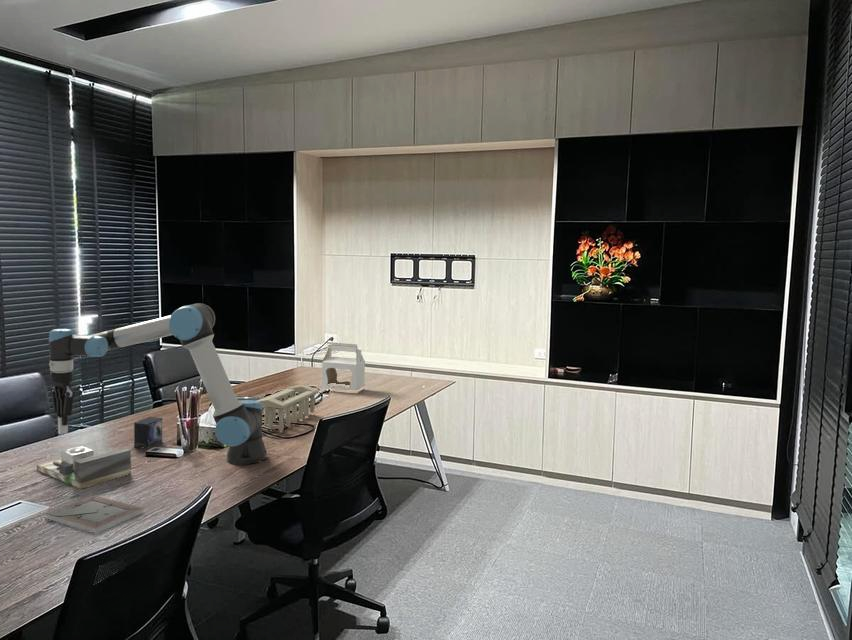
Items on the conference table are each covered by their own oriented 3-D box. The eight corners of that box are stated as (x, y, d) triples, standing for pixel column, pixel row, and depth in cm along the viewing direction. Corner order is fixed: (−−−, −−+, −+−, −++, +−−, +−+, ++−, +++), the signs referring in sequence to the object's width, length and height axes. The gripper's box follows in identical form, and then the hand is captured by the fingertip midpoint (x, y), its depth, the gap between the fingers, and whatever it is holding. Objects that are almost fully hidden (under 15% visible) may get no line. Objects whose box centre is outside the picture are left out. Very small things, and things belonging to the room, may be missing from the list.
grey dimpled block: (93, 463, 232) (93, 449, 232) (57, 473, 222) (57, 458, 221) (82, 458, 237) (81, 444, 236) (46, 468, 226) (45, 453, 225)
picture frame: (45, 520, 190) (95, 535, 182) (45, 512, 190) (95, 527, 182) (94, 501, 205) (142, 514, 197) (94, 494, 205) (142, 507, 196)
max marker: (72, 473, 221) (72, 465, 221) (65, 475, 219) (65, 466, 219) (66, 470, 224) (66, 462, 223) (59, 472, 222) (59, 464, 221)
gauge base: (131, 474, 229) (130, 450, 228) (80, 489, 213) (79, 463, 212) (86, 457, 245) (85, 434, 244) (35, 470, 230) (34, 446, 229)
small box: (147, 449, 257) (147, 424, 256) (133, 447, 258) (132, 422, 257) (163, 441, 267) (163, 417, 266) (149, 440, 269) (149, 416, 267)
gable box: (321, 391, 369) (321, 343, 366) (330, 386, 382) (331, 340, 379) (356, 394, 364) (357, 346, 361) (364, 389, 376) (365, 343, 373)
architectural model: (282, 433, 284) (282, 401, 282) (252, 430, 288) (252, 398, 287) (317, 415, 317) (318, 386, 316) (290, 412, 322) (290, 383, 320)
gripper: (42, 369, 233) (43, 432, 235) (60, 375, 226) (61, 439, 228) (62, 367, 239) (64, 427, 242) (81, 372, 232) (82, 434, 235)
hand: (63, 433), depth 235 cm, fingers closed
